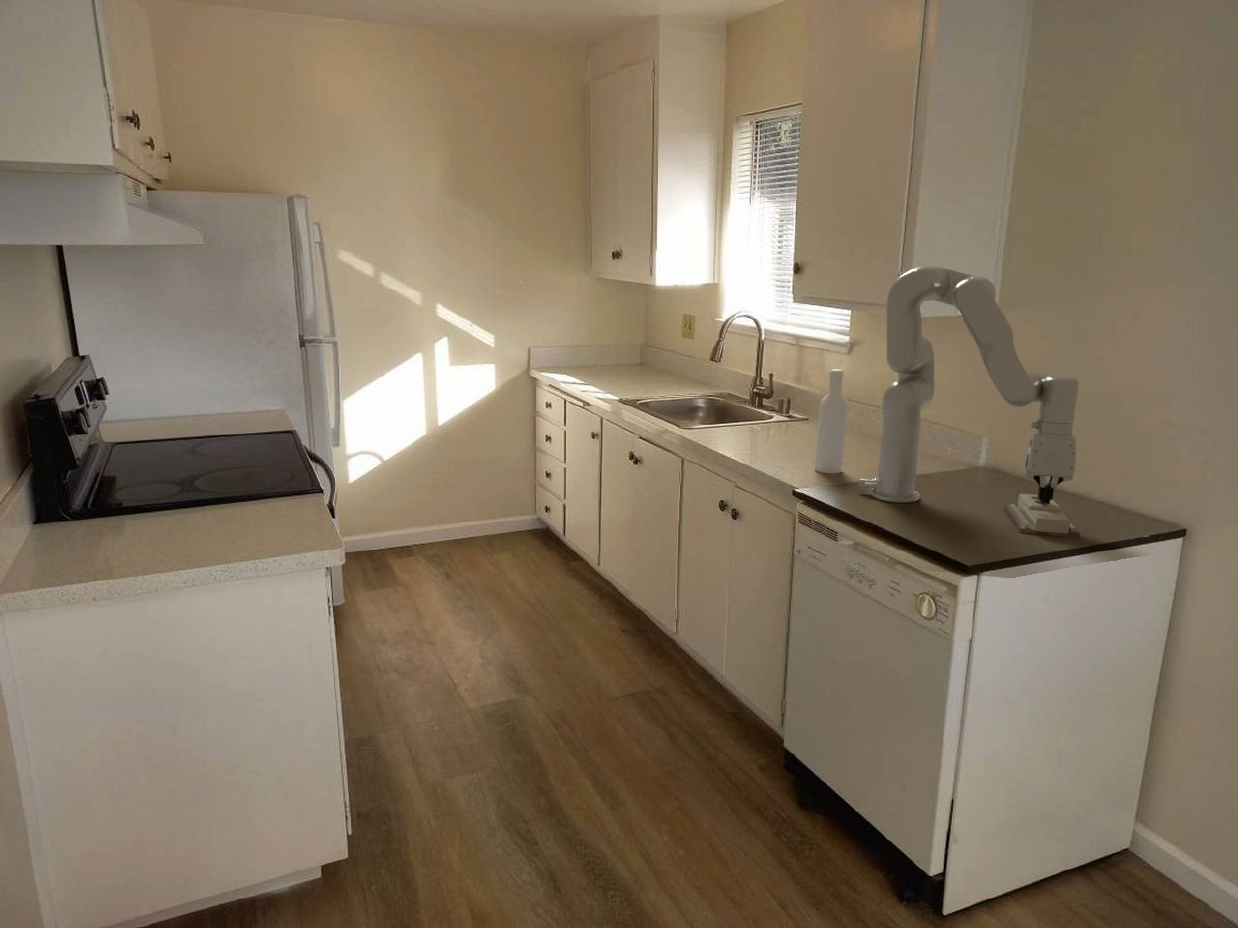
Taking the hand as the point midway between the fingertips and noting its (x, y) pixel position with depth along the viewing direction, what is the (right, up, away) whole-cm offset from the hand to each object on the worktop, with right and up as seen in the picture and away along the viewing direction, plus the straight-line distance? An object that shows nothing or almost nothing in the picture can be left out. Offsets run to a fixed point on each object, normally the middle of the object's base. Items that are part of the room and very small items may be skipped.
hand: (1044, 502), depth 209 cm
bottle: (-41, +7, +47) cm, 63 cm away
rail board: (0, -5, +1) cm, 5 cm away
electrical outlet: (-1, -5, 0) cm, 5 cm away
